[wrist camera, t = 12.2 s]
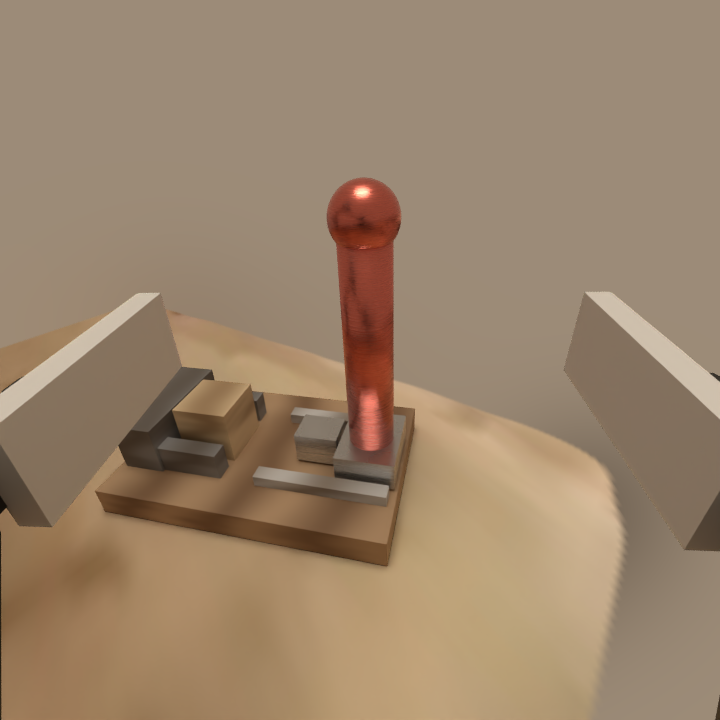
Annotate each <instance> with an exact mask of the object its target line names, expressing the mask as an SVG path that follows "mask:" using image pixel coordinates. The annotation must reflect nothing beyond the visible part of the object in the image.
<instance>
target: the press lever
mask: <svg viewBox="0 0 720 720" xmlns="http://www.w3.org/2000/svg"><path fill="white" fill-rule="evenodd" d="M400 224H401V210H400V206H399V202H398V200H397V198H396V196H395V194H394V193H393V192H392V191H391V189H390V188H389V187H387V186H386V185H385V184H383V183H382V182H380V181H378V180H375V179H372V178H356V179H353V180H350V181H348V182H346V183H345V184H343V185H342V186H341V187H339V188H338V189H337V191H336V192H335V193H334V194H333V196H332V198H331V200H330V202H329V205H328V209H327V225H328V228H329V232H330V234H331V236H332V238H333V240H334V241H335V242H336V246H337V261H338V275H339V289H340V304H341V318H342V331H343V346H344V360H345V376H346V390H347V405H348V419H349V420H348V423H347V425H345V419H341V418H333V417H324V416H316V415H307V414H306V415H305V416H304V418H303V420H302V422H301V424H300V425H299V427H298V429H297V431H296V432H295V434H294V440H295V447H296V453H297V459H298V460H305V461H312V462H319V463H326V464H333V466H334V476H335V478H341V479H348V480H354V481H361V482H368V483H374V484H381V485H388V486H389V489H395V484H396V479H397V475H398V470H399V465H400V461H401V456H402V452H403V447H404V442H405V438H406V416H403V415H394V377H393V376H394V374H393V241H394V239H395V238H396V236H397V234H398V231H399V229H400Z"/></svg>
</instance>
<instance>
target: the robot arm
mask: <svg viewBox="0 0 720 720" xmlns="http://www.w3.org/2000/svg"><path fill="white" fill-rule="evenodd" d="M181 367H182V365H181V361H180V358H179V354H178V351H177V347H176V344H175V341H174V337H173V334H172V330H171V327H170V323H169V320H168V317H167V313H166V310H165V306H164V303H163V299H162V296H161V293H137V294H136V295H134V296H133V297H132V298H130V299H129V300H128V301H126V302H125V303H124V304H122V305H121V306H119V307H118V308H117V309H115V310H114V311H113V312H111V313H110V314H108V315H107V316H106V317H104V318H103V319H102V320H100V321H99V322H98V323H96V324H95V325H93V326H92V327H91V328H89V329H88V330H87V331H85V332H84V333H83V334H81V335H80V336H78V337H77V338H76V339H74V340H73V341H72V342H70V343H69V344H68V345H66V346H65V347H63V348H62V349H61V350H59V351H58V352H57V353H55V354H54V355H53V356H51V357H50V358H48V359H47V360H46V361H44V362H43V363H42V364H40V365H39V366H38V367H36V368H35V369H33V370H32V371H31V372H29V373H28V374H27V375H25V376H23V377H21V378H19V379H18V380H16V381H15V382H14V383H12V384H11V385H10V386H8V387H7V388H5V389H4V390H3V391H2V393H1V394H0V514H1V513H2V511H3V510H4V509H5V508H7V509H8V511H9V512H10V513H11V515H12V516H13V518H14V519H15V521H16V522H17V524H18V525H19V526H31V527H53V526H54V525H55V523H56V522H57V521H58V520H59V518H60V517H61V516H62V515H63V513H64V512H65V511H66V510H67V508H68V507H69V506H70V505H71V504H72V502H73V501H74V500H75V499H76V497H77V496H78V495H79V494H80V492H81V491H82V490H83V489H84V487H85V486H86V485H87V484H88V482H89V481H90V480H91V479H92V477H93V476H94V475H95V474H96V472H97V471H98V470H99V469H100V467H101V466H102V465H103V464H104V462H105V461H106V460H107V459H108V458H109V456H110V455H111V454H112V453H113V451H114V450H115V449H116V448H117V446H118V445H119V444H120V443H121V441H122V440H123V439H124V438H125V436H126V435H127V434H128V433H129V431H130V430H131V429H132V428H133V426H134V425H135V424H136V423H137V421H138V420H139V419H140V418H141V416H142V415H143V414H144V413H145V412H146V410H147V409H148V408H149V407H150V405H151V404H152V403H153V402H154V400H155V399H156V398H157V397H158V395H159V394H160V393H161V392H162V390H163V389H164V388H165V387H166V385H167V384H168V383H169V382H170V380H171V379H172V378H173V377H174V375H175V374H176V373H177V372H178V370H179V369H180V368H181ZM564 371H565V373H566V374H567V376H568V377H569V379H570V380H571V382H572V383H573V384H574V386H575V388H576V389H577V390H578V392H579V393H580V395H581V396H582V398H583V399H584V401H585V402H586V404H587V405H588V407H589V409H590V410H591V412H592V413H593V414H594V416H595V417H596V419H597V420H598V422H599V423H600V425H601V426H602V428H603V429H604V431H605V432H606V434H607V435H608V437H609V438H610V440H611V441H612V443H613V444H614V446H615V447H616V449H617V450H618V452H619V453H620V455H621V456H622V458H623V459H624V461H625V462H626V464H627V465H628V467H629V468H630V470H631V471H632V473H633V474H634V476H635V477H636V479H637V480H638V482H639V483H640V485H641V486H642V488H643V489H644V491H645V492H646V494H647V495H648V497H649V498H650V500H651V501H652V503H653V504H654V506H655V507H656V509H657V510H658V512H659V513H660V515H661V516H662V518H663V519H664V521H665V522H666V524H667V525H668V527H669V528H670V530H671V531H672V533H673V534H674V536H675V537H676V539H677V540H678V542H679V543H680V545H681V546H682V548H683V549H684V550H700V551H720V376H718V375H716V374H714V373H708V372H707V371H706V370H705V369H703V368H702V367H701V366H700V365H699V364H697V363H696V362H695V361H694V360H692V359H691V358H690V357H689V356H688V355H686V354H685V353H684V352H683V351H682V350H680V349H679V348H678V347H677V346H676V345H674V344H673V343H672V342H671V341H670V340H668V339H667V338H666V337H665V336H663V335H662V334H661V333H660V332H659V331H657V330H656V329H655V328H654V327H653V326H651V325H650V324H649V323H648V322H647V321H645V320H644V319H643V318H642V317H641V316H639V315H638V314H637V313H636V312H635V311H633V310H632V309H631V308H630V307H628V306H627V305H626V304H625V303H624V302H622V301H621V300H620V299H619V298H618V297H616V296H615V295H614V294H613V293H612V292H584V295H583V299H582V303H581V306H580V311H579V314H578V318H577V321H576V325H575V329H574V333H573V336H572V340H571V344H570V348H569V351H568V355H567V359H566V363H565V366H564ZM0 720H1V532H0ZM715 720H720V697H719V703H718V708H717V714H716V719H715Z"/></svg>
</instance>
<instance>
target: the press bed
mask: <svg viewBox="0 0 720 720" xmlns="http://www.w3.org/2000/svg"><path fill="white" fill-rule="evenodd" d="M203 379H204V380H214V376H213V372H212V370H208V369H198V368H187V367H181V368H180V369H179V370H178V372H177V373H176V374H175V375H174V377H173V378H172V379H171V380H170V382H169V383H168V384H167V385H166V387H165V388H164V389H163V390H162V392H161V393H160V394H159V395H158V397H157V398H156V399H155V400H154V402H153V403H152V404H151V405H150V407H149V408H148V409H147V410H146V412H145V413H144V414H143V415H142V416H141V418H140V419H139V420H138V421H137V423H136V424H135V425H134V426H133V428H132V429H131V430H130V431H129V433H128V434H127V435H126V436H125V438H124V439H123V440H122V441H121V443H120V444H119V445H118V446H119V448H120V451H121V453H122V455H123V458H124V460H125V462H124V463H123V464H122V465H121V466H120V467H119V468H118V469H117V470H116V471H115V472H114V473H113V474H112V475H111V476H110V477H109V478H108V479H107V480H106V481H105V482H104V483H103V484H102V485H101V486H100V487H99V488H98V489H97V490H95V492H96V494H97V496H98V498H99V500H100V502H101V504H102V506H103V508H104V510H105V511H106V512H112V513H117V514H122V515H127V516H132V517H137V518H142V519H148V520H153V521H158V522H163V523H168V524H173V525H178V526H184V527H189V528H194V529H199V530H204V531H209V532H214V533H220V534H225V535H230V536H235V537H240V538H245V539H250V540H256V541H261V542H266V543H271V544H276V545H281V546H286V547H292V548H297V549H302V550H307V551H312V552H317V553H322V554H328V555H333V556H338V557H343V558H348V559H353V560H359V561H364V562H369V563H374V564H379V565H384V566H387V564H388V559H389V554H390V549H391V544H392V539H393V534H394V529H395V523H396V518H397V513H398V508H399V503H400V498H401V493H402V488H403V482H404V477H405V472H406V467H407V462H408V457H409V452H410V447H411V442H412V436H413V431H414V419H415V409H413V408H404V407H395V406H394V415H403V416H406V438H405V442H404V447H403V452H402V456H401V461H400V465H399V470H398V475H397V479H396V484H395V489H389V486H388V485H381V484H374V483H368V482H361V481H354V480H348V479H341V478H335V476H334V466H333V464H326V463H319V462H312V461H305V460H298V459H297V453H296V447H295V440H294V434H295V432H296V431H297V429H298V427H299V425H300V424H301V422H302V420H303V418H304V416H305V415H306V414H307V415H316V416H324V417H333V418H341V419H345V425H347V423H348V420H349V419H348V405H347V401H339V400H330V399H321V398H311V397H302V396H293V395H283V394H274V393H265V392H256V391H252V394H253V399H254V404H255V409H256V414H257V418H258V423H259V427H258V428H257V430H256V431H255V432H254V434H253V435H252V437H251V438H250V440H249V441H248V443H247V444H246V445H245V447H244V448H243V450H242V451H241V453H240V454H239V456H238V457H237V458H236V460H235V461H234V460H227V457H226V453H225V450H224V446H223V445H221V444H213V443H206V442H199V441H192V440H185V439H181V436H180V433H179V430H178V427H177V424H176V421H175V418H174V415H173V412H172V410H173V409H174V408H175V407H176V406H177V405H178V404H179V403H180V402H181V401H182V400H183V399H184V398H185V397H186V396H187V395H188V394H189V393H190V392H191V391H192V390H193V389H194V388H195V387H196V386H197V385H198V384H199V383H200V382H201V381H202V380H203ZM214 381H215V380H214Z"/></svg>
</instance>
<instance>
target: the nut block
mask: <svg viewBox="0 0 720 720" xmlns="http://www.w3.org/2000/svg"><path fill="white" fill-rule="evenodd" d="M172 412H173V415H174V418H175V421H176V424H177V427H178V430H179V433H180V436H181V439H185V440H192V441H199V442H206V443H213V444H221V445H223V446H224V450H225V453H226V457H227V460H234V461H235V460H236V458H237V457H238V456H239V454H240V453H241V451H242V450H243V448H244V447H245V445H246V444H247V443H248V441H249V440H250V438H251V437H252V435H253V434H254V432H255V431H256V430H257V428H258V427H259V423H258V418H257V414H256V409H255V404H254V399H253V394H252V390H251V385H250V384H242V383H233V382H223V381H214V380H204V379H203V380H202V381H201V382H200V383H199V384H198V385H197V386H196V387H195V388H194V389H193V390H192V391H191V392H190V393H189V394H188V395H187V396H186V397H185V398H184V399H183V400H182V401H181V402H180V403H179V404H178V405H177V406H176V407H175V408H174V409H173V410H172Z"/></svg>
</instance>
